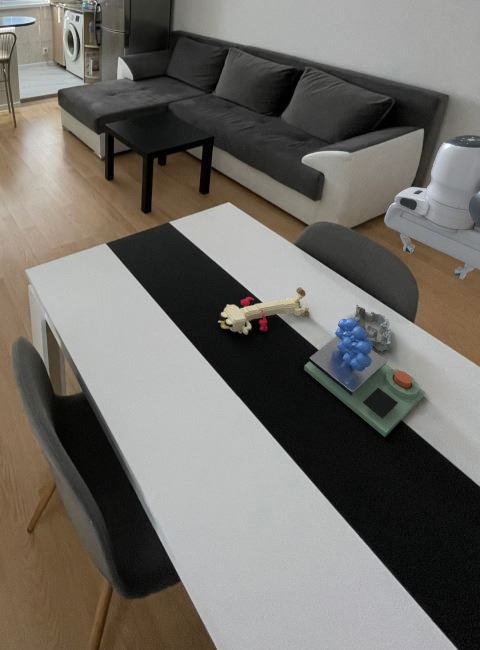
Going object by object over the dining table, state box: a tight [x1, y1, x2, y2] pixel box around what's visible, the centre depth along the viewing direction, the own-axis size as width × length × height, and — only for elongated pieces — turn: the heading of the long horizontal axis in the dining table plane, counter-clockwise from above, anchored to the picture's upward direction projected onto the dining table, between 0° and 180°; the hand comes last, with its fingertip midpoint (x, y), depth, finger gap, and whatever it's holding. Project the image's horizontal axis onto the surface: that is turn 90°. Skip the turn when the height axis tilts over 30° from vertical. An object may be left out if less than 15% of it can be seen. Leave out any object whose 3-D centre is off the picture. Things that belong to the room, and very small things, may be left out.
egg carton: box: [353, 304, 392, 353], centre depth 109 cm, size 11×8×4 cm
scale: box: [303, 361, 426, 438], centre depth 98 cm, size 18×16×3 cm
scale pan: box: [308, 335, 398, 419], centre depth 97 cm, size 16×14×1 cm
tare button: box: [394, 370, 412, 389], centre depth 95 cm, size 3×3×2 cm
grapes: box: [334, 317, 374, 371], centre depth 96 cm, size 12×7×12 cm, turn 176°
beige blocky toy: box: [217, 287, 310, 335], centre depth 115 cm, size 10×9×25 cm
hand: (432, 263), depth 92 cm, fingers open, 8 cm apart
